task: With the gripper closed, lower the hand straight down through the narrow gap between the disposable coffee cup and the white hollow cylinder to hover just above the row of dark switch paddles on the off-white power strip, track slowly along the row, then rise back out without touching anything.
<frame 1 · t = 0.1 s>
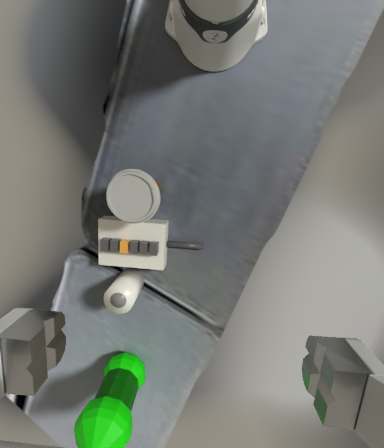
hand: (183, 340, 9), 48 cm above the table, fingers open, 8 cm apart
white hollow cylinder: (131, 280, 60), on the table
disposable coffee cup: (146, 191, 56), on the table
plastic bottle: (129, 361, 65), on the table
power strip: (136, 239, 58), on the table
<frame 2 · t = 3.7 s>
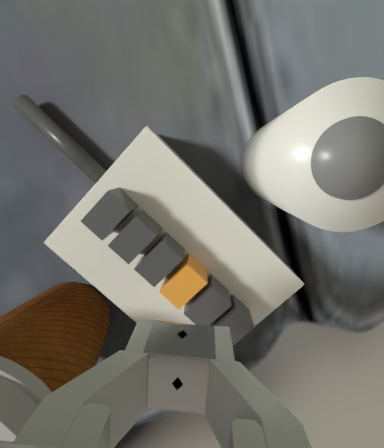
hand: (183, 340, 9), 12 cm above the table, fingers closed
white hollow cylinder: (282, 162, 19), on the table
disposable coffee cup: (76, 314, 23), on the table
power strip: (179, 245, 21), on the table
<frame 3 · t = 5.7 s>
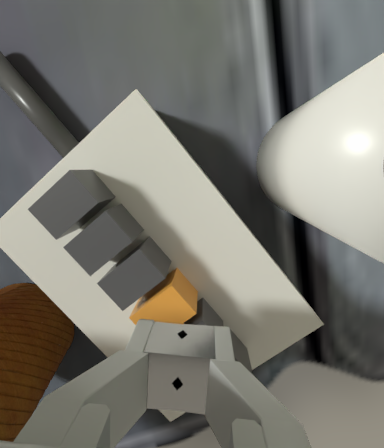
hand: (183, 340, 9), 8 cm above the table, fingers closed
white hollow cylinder: (308, 163, 15), on the table
disposable coffee cup: (32, 322, 19), on the table
power strip: (167, 252, 17), on the table
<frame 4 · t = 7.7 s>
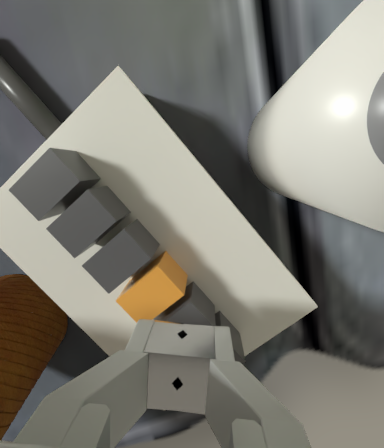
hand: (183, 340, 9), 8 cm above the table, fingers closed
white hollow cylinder: (300, 144, 15), on the table
disposable coffee cup: (25, 314, 18), on the table
power strip: (159, 240, 16), on the table
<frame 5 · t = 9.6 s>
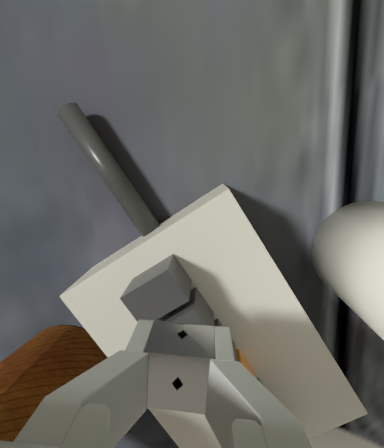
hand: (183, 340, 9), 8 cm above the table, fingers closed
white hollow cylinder: (361, 249, 16), on the table
disposable coffee cup: (71, 361, 19), on the table
power strip: (214, 313, 17), on the table
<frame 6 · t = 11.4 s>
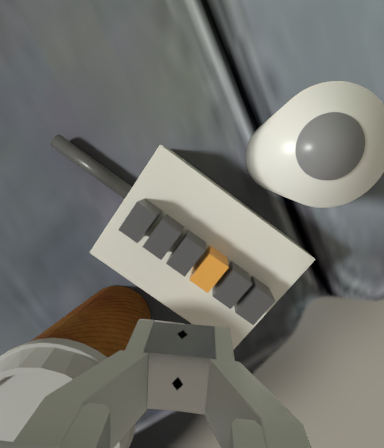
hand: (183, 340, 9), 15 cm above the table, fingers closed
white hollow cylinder: (281, 155, 22), on the table
disposable coffee cup: (120, 313, 26), on the table
power strip: (201, 241, 24), on the table
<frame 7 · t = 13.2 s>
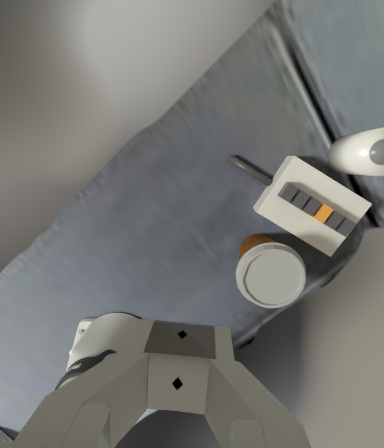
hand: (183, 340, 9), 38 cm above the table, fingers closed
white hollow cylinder: (347, 154, 42), on the table
ink cartridge box: (6, 442, 62), on the table
disposable coffee cup: (257, 250, 47), on the table
power strip: (304, 204, 44), on the table
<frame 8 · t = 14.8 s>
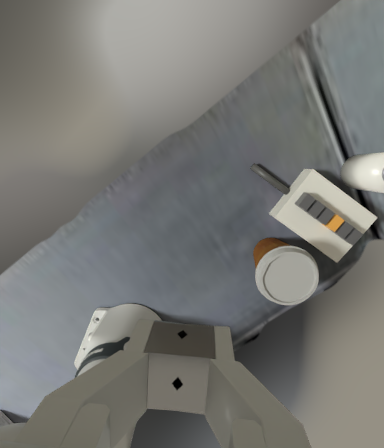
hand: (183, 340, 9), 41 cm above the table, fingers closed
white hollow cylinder: (357, 171, 46), on the table
ink cartridge box: (6, 426, 63), on the table
disposable coffee cup: (269, 252, 51), on the table
power strip: (315, 213, 48), on the table
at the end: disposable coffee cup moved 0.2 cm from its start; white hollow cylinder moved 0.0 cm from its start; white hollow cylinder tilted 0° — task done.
